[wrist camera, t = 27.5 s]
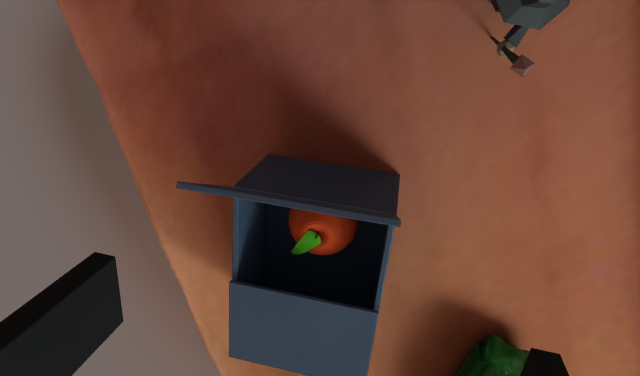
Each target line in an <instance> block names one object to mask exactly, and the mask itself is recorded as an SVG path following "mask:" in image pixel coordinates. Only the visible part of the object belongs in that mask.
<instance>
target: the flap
mask: <svg viewBox="0 0 640 376" xmlns="http://www.w3.org/2000/svg"><path fill="white" fill-rule="evenodd" d="M176 188H180V189H186V190H191V191H197V192H203V193H209V194H214V195H220V196H226V197H231V198H237V199H243V200H248V201H254V202H260V203H266V204H271V205H277V206H283V207H288V208H294V209H300V210H305V211H311V212H317V213H323V214H328V215H334V216H340V217H345V218H351V219H357V220H362V221H368V222H374V223H379V224H385V225H391V226H397V227H400V225H401V220H400V219H399V218H398V217H397V215H394V214H388V213H382V212H377V211H371V210H365V209H359V208H353V207H347V206H341V205H336V204H330V203H324V202H318V201H312V200H306V199H301V198H295V197H289V196H283V195H277V194H271V193H266V192H260V191H254V190H248V189H242V188H236V187H230V186H219V185H209V184H198V183H187V182H177V186H176Z"/></svg>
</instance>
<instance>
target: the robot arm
mask: <svg viewBox="0 0 640 376" xmlns="http://www.w3.org/2000/svg"><path fill="white" fill-rule="evenodd" d="M122 322H123V315H122V307H121V299H120V292H119V283H118V276H117V268H116V260H115V257H114V256H110V255H105V254H101V253H96V252H94V253H93V254H91V255H90V256H89V257H87V258H86V259H85V260H83V261H82V262H81V263H79V264H78V265H77V266H75V267H74V268H73V269H71V270H70V271H69V272H67V273H66V274H64V275H63V276H62V277H60V278H59V279H58V280H56V281H55V282H54V283H52V284H51V285H50V286H48V287H47V288H46V289H44V290H43V291H42V292H40V293H39V294H38V295H36V296H35V297H34V298H32V299H31V300H30V301H28V302H27V303H26V304H24V305H23V306H22V307H20V308H19V309H18V310H16V311H15V312H14V313H12V314H11V315H9V316H8V317H7V318H5V319H4V320H3V321H1V322H0V376H72V375H73V374H74V373H75V372H76V370H77V369H78V368H79V367H80V366H81V365H82V364H83V363H84V362H85V361H86V360H87V359H88V358H89V357H90V356H91V354H92V353H94V352H95V350H96V349H97V348H98V347H99V346H100V345H101V344H102V343H103V342H104V341H105V340H106V339H107V338H108V337H109V336H110V334H112V333H113V331H114V330H115V329H116V328H117V327H118V326H119V325H120V324H121V323H122ZM520 376H569V374H568V372H567V370H566V367H565V365H564V363H563V360H562V358H561V356H560V354H556V353H552V352H547V351H543V350H538V349H534V348H531V350H530V352H529V355H528V357H527V360H526V362H525V364H524V367H523V369H522V372H521V374H520Z"/></svg>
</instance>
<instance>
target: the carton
mask: <svg viewBox="0 0 640 376" xmlns="http://www.w3.org/2000/svg"><path fill="white" fill-rule="evenodd" d="M399 180H400V175H398V174H391V173H385V172H379V171H372V170H366V169H359V168H353V167H347V166H340V165H334V164H327V163H321V162H314V161H308V160H302V159H295V158H289V157H282V156H276V155H270V154H268V155H267V156H266V157H265V158H264V159H263V160H262V161H260V162H259V163H258V164H257V165H256V166H255V167H254V168H253V169H252V170H251V171H249V172H248V173H247V174H246V175H245V176H244V177H243V178H242V179H241V180H240V181H239V182H237V183H236V184H235V185H234V186H233V187H236V188H242V189H248V190H254V191H260V192H266V193H271V194H277V195H283V196H289V197H295V198H301V199H306V200H312V201H318V202H324V203H330V204H336V205H341V206H347V207H353V208H359V209H365V210H371V211H377V212H382V213H388V214H394V215H397V204H398V192H399ZM290 210H291V208H288V207H283V206H277V205H271V204H266V203H260V202H254V201H248V200H243V199H237V198H233V262H232V280H231V281H230V282H229V357H233V358H237V359H241V360H245V361H249V362H254V363H258V364H262V365H266V366H270V367H274V368H279V369H283V370H287V371H291V372H295V373H300V374H304V375H308V376H367V374H368V369H369V363H370V358H371V352H372V347H373V341H374V336H375V330H376V325H377V319H378V314H379V309H380V303H381V298H382V292H383V287H384V281H385V276H386V270H387V265H388V259H389V254H390V248H391V243H392V237H393V232H394V226H391V225H385V224H379V223H374V222H368V221H362V220H358V227H357V231H356V233H355V236H354V238H353V239H352V241H351V242H350V243H349V244H348V246H347V247H346V248H344V249H342V250H341V251H339V252H337V253H334V254H331V255H316V254H312V253H310V252H308V251H307V252H304V253H301V254H297V255H295V254H292V253H291V250H292V249H293V248H294V247H295V246H296V244H297V242H296V241H295V240H294V238H293V236H292V234H291V231H290V227H289V213H290Z"/></svg>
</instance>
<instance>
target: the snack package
mask: <svg viewBox="0 0 640 376" xmlns="http://www.w3.org/2000/svg"><path fill="white" fill-rule="evenodd" d="M528 355H529V351H526V350H520V349H518V348H516V347H514V346H511V345H509V344H507V343H505V342H504V341H502V339H501V338H500V337H499V336H497V335H494V334H491V335H490V336H489V337H488V338H487V339H485V340H482V341H480V342H478V343H477V344H476V345H475V346H474V347H473V349H472V351H471V352H470V354H469V355H468V357H467V359H466V360H465V362H464V364H463V365H462V367H461V368H460V369H459V370H458V372H457V373H456V374H455V375H454V376H520V374H521V372H522V369H523V367H524V364H525V362H526V360H527V357H528Z"/></svg>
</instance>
